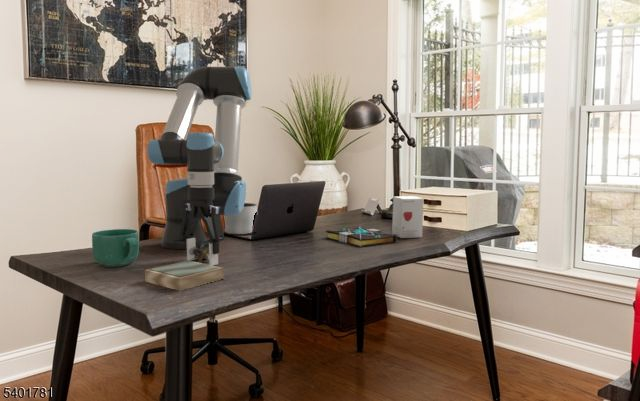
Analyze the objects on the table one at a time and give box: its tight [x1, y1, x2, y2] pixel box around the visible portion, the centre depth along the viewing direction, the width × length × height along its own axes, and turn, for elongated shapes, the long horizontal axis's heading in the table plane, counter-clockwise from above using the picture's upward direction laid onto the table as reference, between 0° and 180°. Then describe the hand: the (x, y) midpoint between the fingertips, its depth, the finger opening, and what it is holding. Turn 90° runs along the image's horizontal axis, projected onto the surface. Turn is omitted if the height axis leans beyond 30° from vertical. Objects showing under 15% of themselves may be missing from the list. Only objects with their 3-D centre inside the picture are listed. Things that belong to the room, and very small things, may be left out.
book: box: [325, 226, 398, 248], centre depth 195 cm, size 22×17×5 cm
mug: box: [91, 228, 140, 268], centre depth 153 cm, size 17×13×10 cm
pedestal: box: [144, 260, 225, 292], centre depth 137 cm, size 14×14×3 cm
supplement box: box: [391, 195, 424, 239], centre depth 204 cm, size 9×9×15 cm
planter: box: [224, 202, 258, 235], centre depth 209 cm, size 12×13×11 cm
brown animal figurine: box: [189, 238, 211, 263], centre depth 160 cm, size 8×7×9 cm
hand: (202, 262), depth 157 cm, fingers open, 9 cm apart
